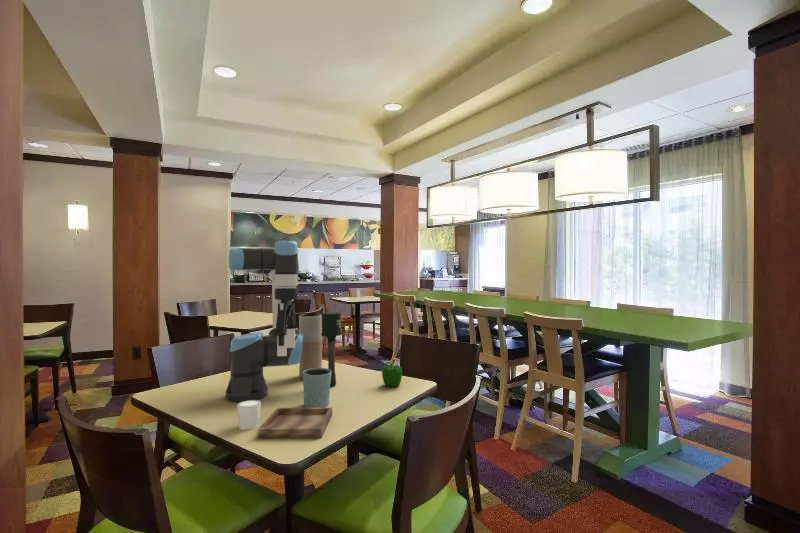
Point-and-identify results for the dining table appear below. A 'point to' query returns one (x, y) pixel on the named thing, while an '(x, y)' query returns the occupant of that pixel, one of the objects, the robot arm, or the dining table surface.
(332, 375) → the stick grenade
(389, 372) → the bell pepper
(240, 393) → the robot arm
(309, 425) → the tray
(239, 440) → the dining table surface
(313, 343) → the vase
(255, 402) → the white cup
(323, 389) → the blue cup
